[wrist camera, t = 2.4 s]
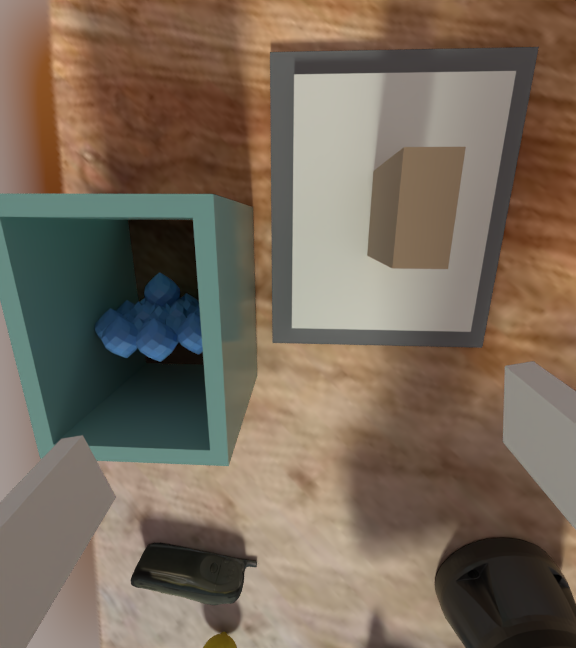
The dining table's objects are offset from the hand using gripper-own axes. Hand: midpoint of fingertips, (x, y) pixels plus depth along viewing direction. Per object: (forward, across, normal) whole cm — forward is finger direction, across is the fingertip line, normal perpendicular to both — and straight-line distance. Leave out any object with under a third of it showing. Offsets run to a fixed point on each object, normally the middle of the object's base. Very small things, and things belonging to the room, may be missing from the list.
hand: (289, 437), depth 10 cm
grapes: (+24, +11, 0) cm, 26 cm away
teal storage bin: (+24, +11, 0) cm, 26 cm away
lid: (+23, -9, -4) cm, 25 cm away
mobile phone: (+21, +20, +35) cm, 45 cm away
